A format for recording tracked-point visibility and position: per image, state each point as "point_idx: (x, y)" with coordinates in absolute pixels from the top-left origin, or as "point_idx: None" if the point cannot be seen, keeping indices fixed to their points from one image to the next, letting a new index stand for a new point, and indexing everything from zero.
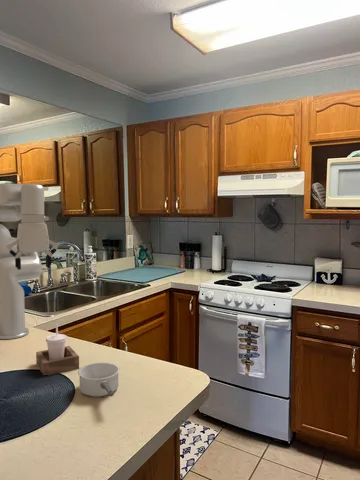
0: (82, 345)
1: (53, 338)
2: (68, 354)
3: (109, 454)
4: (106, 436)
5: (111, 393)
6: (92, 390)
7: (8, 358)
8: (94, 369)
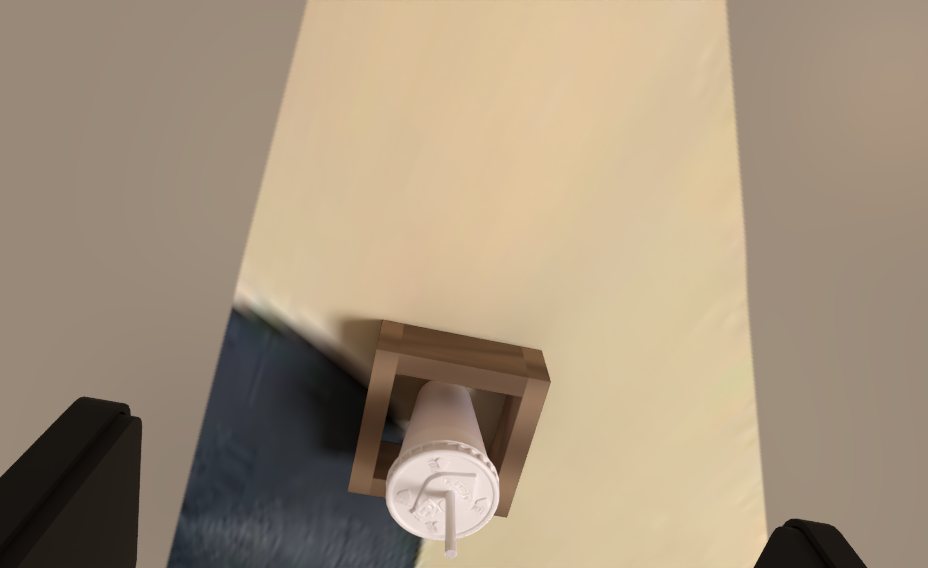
0: (690, 254)
1: (416, 515)
2: (510, 418)
3: None
4: None
5: None
6: None
7: (293, 148)
8: None
